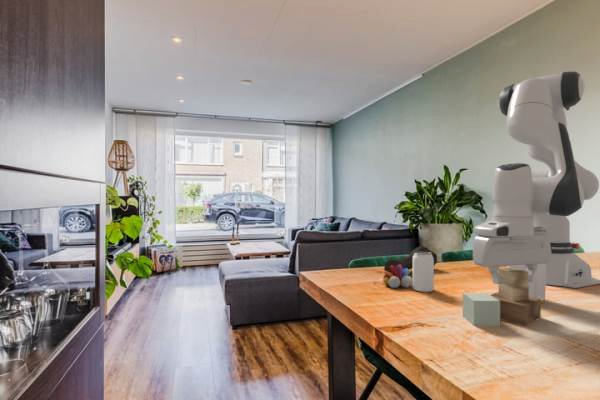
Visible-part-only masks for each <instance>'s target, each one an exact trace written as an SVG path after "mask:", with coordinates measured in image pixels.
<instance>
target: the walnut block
mask: <svg viewBox="0 0 600 400" xmlns="http://www.w3.org/2000/svg"><path fill="white" fill-rule="evenodd" d="M490 295H491V296H493V297H494V298H496V299H498V300H499V301H500V321H501V320H502V321H504V322H505V321H506V322H509V323H512V324H516V325H520V326H523V327H527V326H528V325H531V324H532V323H534V322H536V321H537V319H538V320H540V319H541V315H542V314H541V308H542V305H541V304H542V303H541V299H538V298H534V297H529V300H522V301H511V300H509V299H506V298H503V297H501V296H499V291H497V292H495V293H493V294H490Z"/></svg>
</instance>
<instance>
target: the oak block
mask: <svg viewBox="0 0 600 400" xmlns="http://www.w3.org/2000/svg"><path fill="white" fill-rule="evenodd" d="M498 274H499V276H501V277H503V280H502V281H503V283H502V284H498V292H499V296H501V297H503V298H506V299H509V300H511V301H522V300H529V272H528V271H524V270H520V269H516V268H507V267H506V268H499V271H498Z"/></svg>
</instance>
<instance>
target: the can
mask: <svg viewBox="0 0 600 400" xmlns="http://www.w3.org/2000/svg"><path fill="white" fill-rule="evenodd" d="M434 267H435V265H434V258H433V256H432V253H430V252H414V255H413V268H412V281H413V283H412V289H413V290H414V291H416V292H418V293H431V292H433V291H434V290H435V273H434V272H435V268H434Z"/></svg>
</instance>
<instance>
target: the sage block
mask: <svg viewBox="0 0 600 400" xmlns="http://www.w3.org/2000/svg"><path fill="white" fill-rule="evenodd" d="M491 295H492V294H489V293H485V292H481V293H479V292H478V293H477V292H475V293H473V292H472V293H471V292H468V293H467V292H463V293H462V317H463V318H464V319H465V318H466V319H465V320H466V321H468V322H469V323H470V324H471V325H472V326H474V327H475V326H476V327H500V326H501V319H500V301H499V300H498V299H496V298H494V297H493V296H491Z"/></svg>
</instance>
